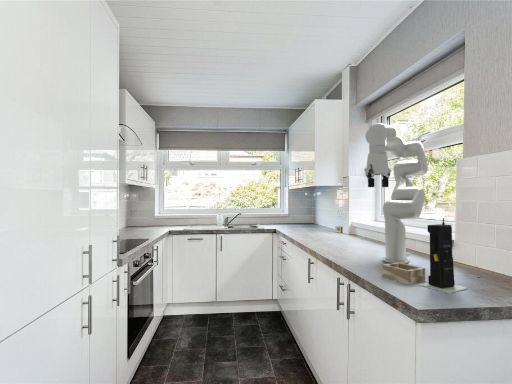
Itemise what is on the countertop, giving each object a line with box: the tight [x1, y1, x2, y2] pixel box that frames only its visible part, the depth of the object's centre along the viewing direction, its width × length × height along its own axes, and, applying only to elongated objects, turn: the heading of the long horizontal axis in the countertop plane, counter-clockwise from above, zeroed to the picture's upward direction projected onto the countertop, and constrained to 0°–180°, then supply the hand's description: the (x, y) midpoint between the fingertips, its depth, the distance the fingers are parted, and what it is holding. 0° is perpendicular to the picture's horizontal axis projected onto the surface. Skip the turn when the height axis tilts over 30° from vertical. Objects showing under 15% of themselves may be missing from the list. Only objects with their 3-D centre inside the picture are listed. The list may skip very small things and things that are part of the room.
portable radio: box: [427, 217, 456, 288], centre depth 108 cm, size 8×6×25 cm
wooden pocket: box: [381, 262, 426, 285], centre depth 119 cm, size 10×12×5 cm
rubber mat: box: [418, 281, 468, 295], centre depth 108 cm, size 11×11×1 cm
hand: (378, 187), depth 137 cm, fingers open, 9 cm apart
